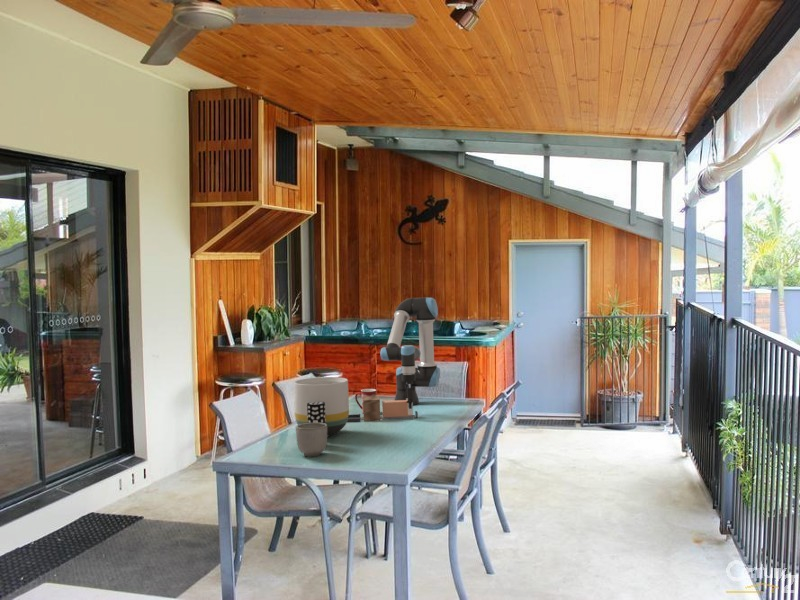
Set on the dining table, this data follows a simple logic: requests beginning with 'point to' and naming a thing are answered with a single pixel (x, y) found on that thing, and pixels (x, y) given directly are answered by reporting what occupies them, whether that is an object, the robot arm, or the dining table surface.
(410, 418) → the pad
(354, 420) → the dark grey tray
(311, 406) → the white-spotted black cylinder
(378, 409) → the open box
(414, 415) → the track
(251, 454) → the dining table surface
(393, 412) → the block
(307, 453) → the planter
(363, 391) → the mug
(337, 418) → the planter
